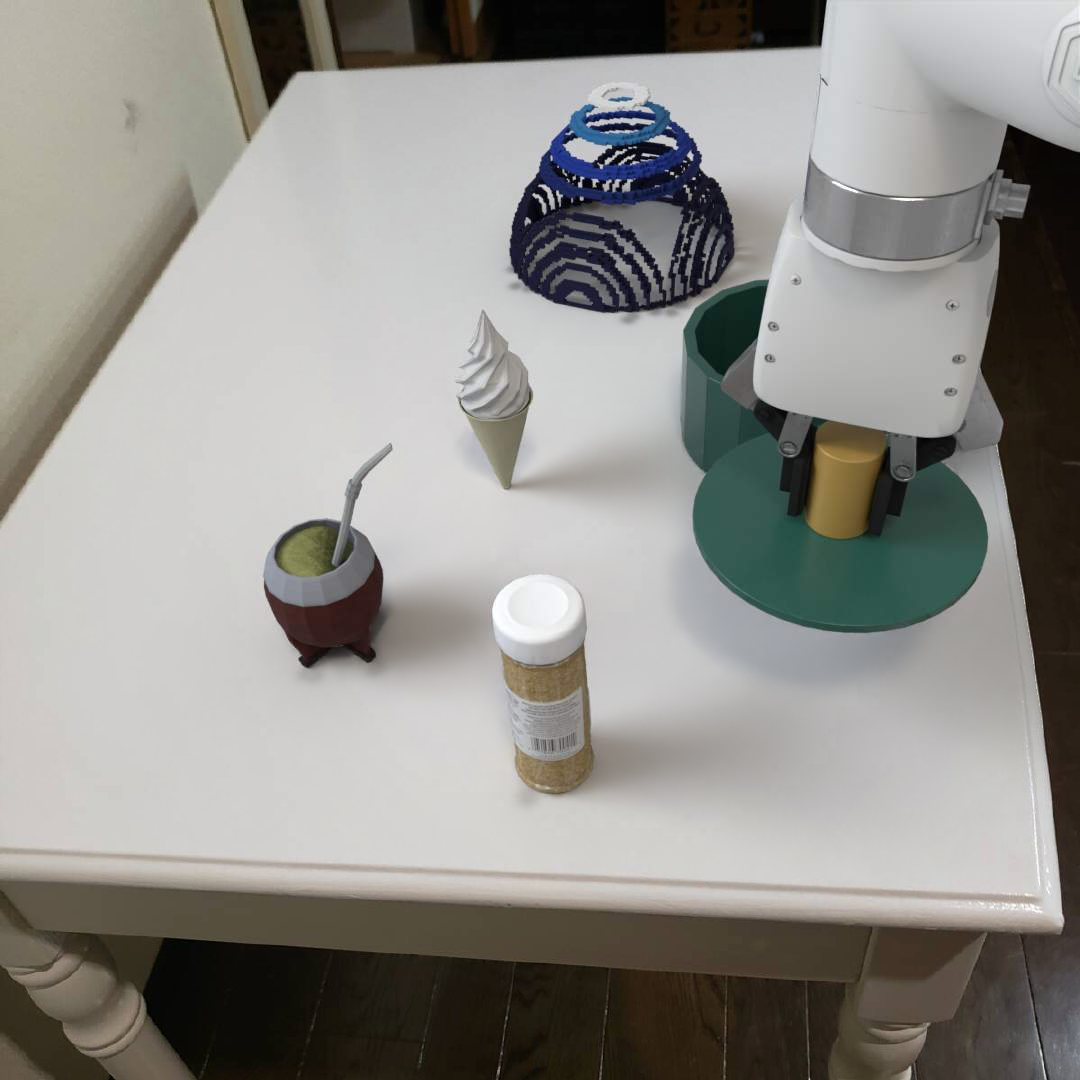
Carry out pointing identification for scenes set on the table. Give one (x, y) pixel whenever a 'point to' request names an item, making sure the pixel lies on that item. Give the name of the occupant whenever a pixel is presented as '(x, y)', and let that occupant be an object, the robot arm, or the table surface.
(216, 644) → the table surface
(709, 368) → the tin
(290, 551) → the mate gourd
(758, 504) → the lid
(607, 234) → the decorative bowl
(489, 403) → the ice cream cone
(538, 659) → the sprinkles bottle
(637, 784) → the table surface
